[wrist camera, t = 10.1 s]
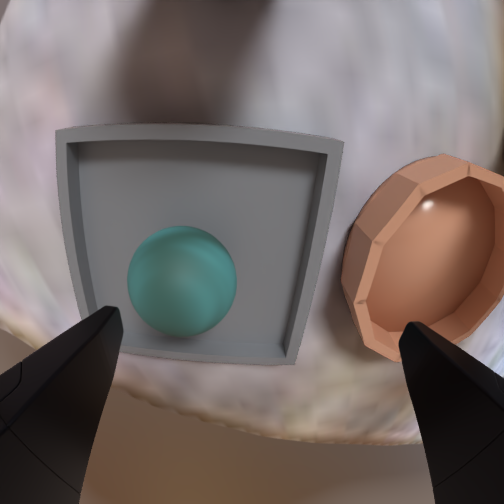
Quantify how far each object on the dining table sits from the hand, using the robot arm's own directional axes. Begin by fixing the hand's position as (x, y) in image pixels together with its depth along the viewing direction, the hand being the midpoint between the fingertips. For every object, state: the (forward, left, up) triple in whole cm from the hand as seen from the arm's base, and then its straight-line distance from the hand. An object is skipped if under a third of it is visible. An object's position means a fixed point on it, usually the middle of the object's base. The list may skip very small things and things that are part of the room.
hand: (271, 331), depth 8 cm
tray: (+4, +3, -11) cm, 12 cm away
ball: (+4, +3, -7) cm, 9 cm away
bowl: (-14, +2, -11) cm, 18 cm away
